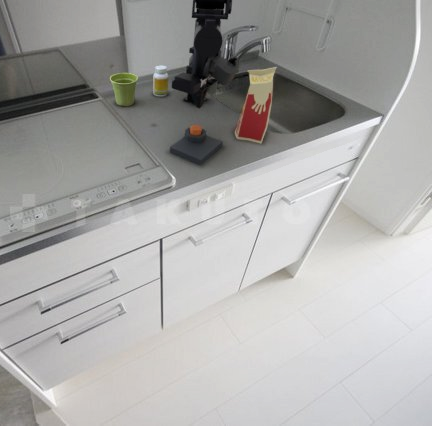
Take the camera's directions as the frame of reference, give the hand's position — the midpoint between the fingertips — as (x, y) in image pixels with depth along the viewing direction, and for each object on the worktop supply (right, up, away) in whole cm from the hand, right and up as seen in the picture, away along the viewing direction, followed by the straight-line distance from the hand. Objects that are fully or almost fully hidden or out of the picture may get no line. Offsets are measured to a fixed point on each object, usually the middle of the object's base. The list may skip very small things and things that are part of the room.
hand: (198, 107), depth 82 cm
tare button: (0, -6, +5) cm, 8 cm away
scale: (0, -10, +5) cm, 12 cm away
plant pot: (-23, +10, +26) cm, 36 cm away
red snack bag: (+17, -4, +12) cm, 21 cm away
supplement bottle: (-10, +16, +32) cm, 37 cm away
